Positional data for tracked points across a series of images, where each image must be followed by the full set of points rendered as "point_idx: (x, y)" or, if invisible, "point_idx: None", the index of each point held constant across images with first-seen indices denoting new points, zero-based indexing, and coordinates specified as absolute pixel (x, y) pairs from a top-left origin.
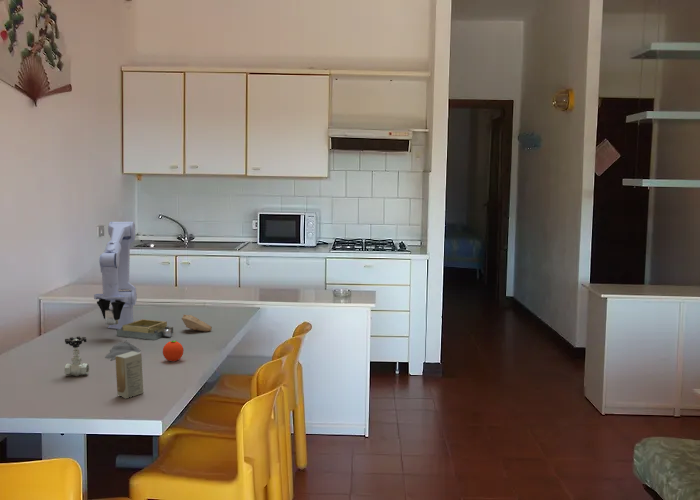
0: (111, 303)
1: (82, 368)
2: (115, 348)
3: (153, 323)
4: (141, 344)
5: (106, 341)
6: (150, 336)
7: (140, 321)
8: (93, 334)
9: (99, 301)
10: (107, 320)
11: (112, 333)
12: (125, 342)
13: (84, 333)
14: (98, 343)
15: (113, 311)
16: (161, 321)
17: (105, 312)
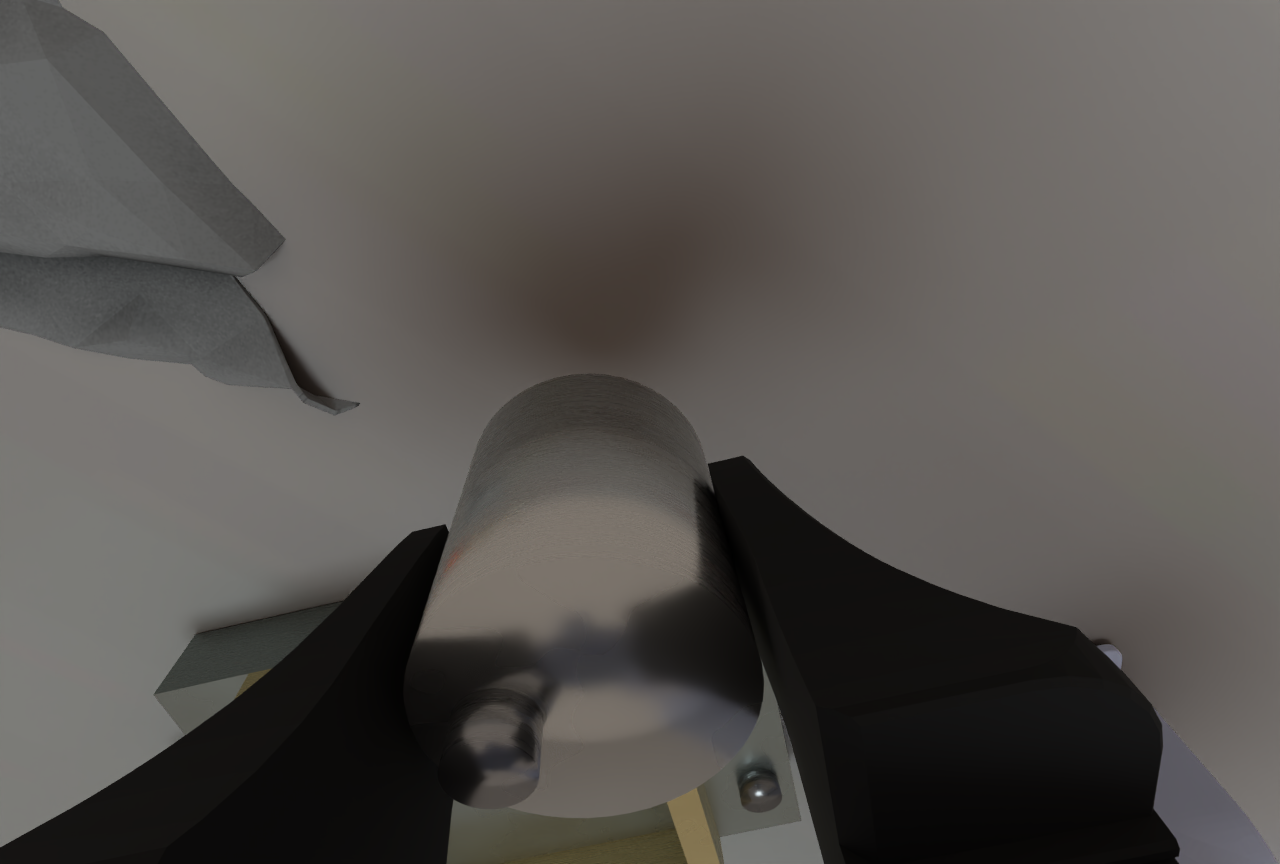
0: (148, 856)
1: None
2: None
3: None
4: (79, 444)
5: (594, 269)
6: (231, 650)
7: (684, 847)
8: (1064, 395)
9: (1035, 778)
10: (548, 419)
11: (879, 548)
12: (257, 353)
13: (1219, 359)
14: (583, 118)
15: (410, 655)
16: None
17: (616, 521)
